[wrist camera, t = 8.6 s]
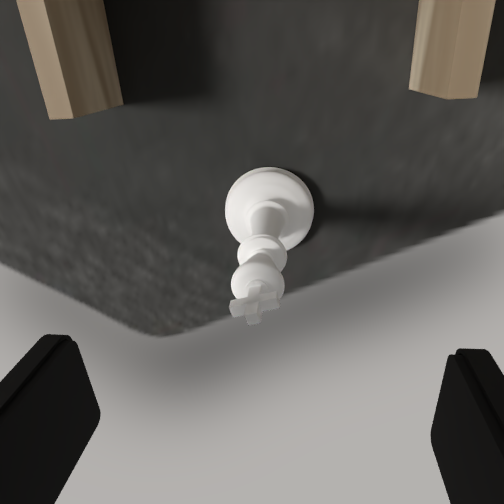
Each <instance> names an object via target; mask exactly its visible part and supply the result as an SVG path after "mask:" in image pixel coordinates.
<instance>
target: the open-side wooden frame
mask: <svg viewBox="0 0 504 504" xmlns="http://www.w3.org/2000/svg"><path fill="white" fill-rule="evenodd" d="M16 1H17V4H18V8H19V12H20V15H21V19H22V22H23V26H24V29H25V33H26V36H27V40H28V44H29V47H30V51H31V54H32V58H33V61H34V65H35V68H36V72H37V75H38V79H39V83H40V86H41V90H42V93H43V97H44V100H45V104H46V107H47V111H48V115H49V118H50V119H69V118H76V117H80V116H84V115H87V114H91V113H95V112H98V111H102V110H106V109H109V108H113V107H116V106H120V105H124V104H123V99H122V94H121V89H120V84H119V79H118V73H117V68H116V63H115V58H114V53H113V48H112V43H111V38H110V33H109V27H108V22H107V17H106V12H105V7H104V2H103V0H16ZM495 1H496V0H419V6H418V15H417V23H416V32H415V40H414V49H413V58H412V66H411V75H410V84H409V89H410V90H414V91H418V92H422V93H425V94H429V95H433V96H436V97H440V98H444V99H463V98H477V95H478V90H479V84H480V79H481V74H482V69H483V64H484V58H485V53H486V48H487V43H488V37H489V32H490V27H491V22H492V17H493V11H494V6H495Z"/></svg>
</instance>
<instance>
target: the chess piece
mask: <svg viewBox="0 0 504 504" xmlns="http://www.w3.org/2000/svg"><path fill="white" fill-rule="evenodd" d="M225 216H226V221H227V225H228V227H229V230H230V231H231V233H232V235H233V236H234V237H235V238H236V240H237V241H238V242H240V243H241V245H240V246H239V249H238V261H239V264H240V267H238V269H237V270H236V271H235V272H234V274H233V276H232V280H231V288H232V292H233V294H234V296H235V297H236V298H237V299H235V300H231V301H230V305H229V309H230V312H231V314H232V317H239V316H245V319H246V321H247V324H248V325H253V324H258V323H261V316H262V312H264V311H269V310H274V309H279V308H280V298H281V297H282V295H283V292H284V279H283V276H282V274H281V273H280V272H281V271H282V269H283V268H284V267H285V265H286V262H287V252H286V251H287V250H289V249H291V248H293V247H295V246H296V245H297V244H299V243H300V242H301V241H302V240H303V239H304V237H305V236H306V235H307V233H308V231H309V229H310V227H311V224H312V220H313V216H314V203H313V199H312V196H311V193H310V191H309V189H308V188H307V186H306V185H305V183H304V182H303V181H302V180H301V179H300V178H298V177H297V176H296V175H294V174H293V173H291V172H289V171H287V170H284V169H281V168H275V167H263V168H258V169H254V170H252V171H249V172H247V173H246V174H244V175H242V176H241V177H240V178H239V179H238V180H237V181H236V182H235V183H234V184H233V186H232V187H231V189H230V191H229V193H228V196H227V199H226V206H225Z"/></svg>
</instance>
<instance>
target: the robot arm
mask: <svg viewBox="0 0 504 504" xmlns="http://www.w3.org/2000/svg"><path fill="white" fill-rule="evenodd" d="M99 420H100V409H99V406H98V403H97V400H96V397H95V394H94V391H93V388H92V385H91V382H90V380H89V377H88V374H87V371H86V368H85V365H84V363H83V359H82V356H81V354H80V351H79V348H78V345H77V343H76V342H75V341H73V340H72V339H71V337H70V336H68V335H51V334H47V335H44V336H43V337H41V338H40V339H39V341H37V343H36V344H35V345H34V346H33V347H32V348H31V349H30V350H29V351H28V352H27V353H26V355H25V356H24V357H23V358H22V359H21V360H20V361H19V362H18V363H17V365H15V366H14V368H13V369H12V370H11V371H10V372H9V373H8V374H7V375H6V376H5V377H4V379H3V380H2V381H1V382H0V504H54V503H55V501H56V500H57V498H58V496H59V494H60V493H61V491H62V489H63V487H64V485H65V483H66V482H67V480H68V478H69V476H70V474H71V473H72V471H73V469H74V467H75V465H76V463H77V462H78V460H79V458H80V456H81V455H82V453H83V451H84V449H85V447H86V445H87V444H88V442H89V440H90V438H91V436H92V435H93V433H94V431H95V429H96V427H97V425H98V423H99ZM431 443H432V447H433V451H434V454H435V457H436V460H437V463H438V466H439V469H440V472H441V475H442V478H443V481H444V485H445V488H446V491H447V494H448V497H449V500H450V503H451V504H504V375H503V374H502V372H501V370H500V369H499V367H498V365H497V364H496V362H495V361H494V359H493V357H492V356H491V354H490V353H489V352H488V351H487V350H485V349H458V350H457V351H456V354H455V355H449V356H448V359H447V363H446V368H445V372H444V376H443V380H442V385H441V390H440V394H439V398H438V402H437V406H436V411H435V415H434V420H433V424H432V428H431Z"/></svg>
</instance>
